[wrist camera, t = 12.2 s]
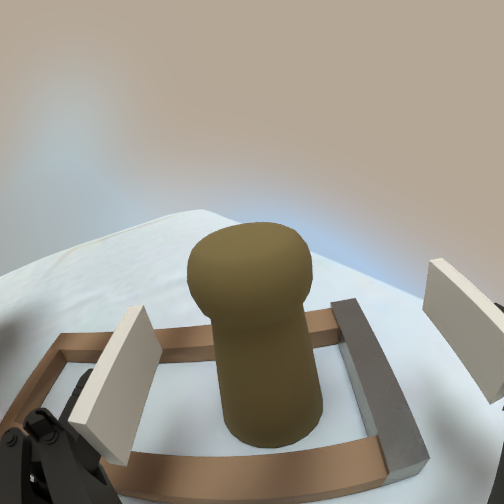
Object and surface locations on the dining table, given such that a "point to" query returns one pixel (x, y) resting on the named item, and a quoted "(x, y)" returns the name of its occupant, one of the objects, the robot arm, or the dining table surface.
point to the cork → (259, 329)
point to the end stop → (379, 394)
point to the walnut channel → (214, 468)
